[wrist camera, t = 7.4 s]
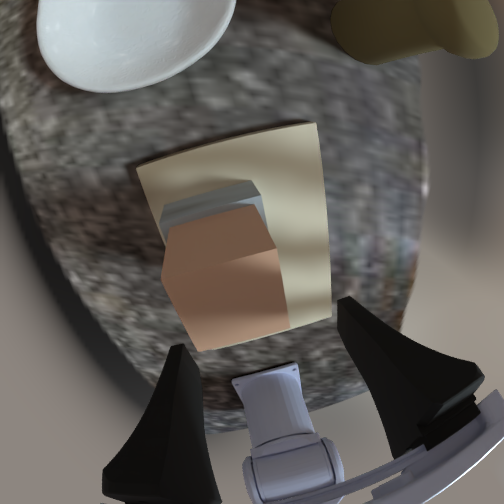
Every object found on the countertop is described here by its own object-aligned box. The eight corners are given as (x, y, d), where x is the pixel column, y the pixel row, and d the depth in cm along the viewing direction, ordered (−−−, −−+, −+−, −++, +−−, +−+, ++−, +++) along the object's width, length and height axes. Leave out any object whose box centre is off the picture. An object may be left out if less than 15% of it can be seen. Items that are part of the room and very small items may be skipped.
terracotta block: (269, 273, 18) (290, 328, 14) (195, 293, 18) (198, 351, 14) (254, 204, 16) (277, 248, 11) (169, 227, 15) (160, 279, 11)
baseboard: (327, 309, 27) (343, 337, 24) (212, 342, 27) (215, 374, 23) (310, 121, 17) (336, 128, 14) (138, 164, 17) (124, 181, 14)
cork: (329, 55, 15) (448, 38, 6) (329, -13, 12) (430, -63, 3) (397, 73, 16) (513, 86, 7) (396, 10, 13) (504, -4, 4)
